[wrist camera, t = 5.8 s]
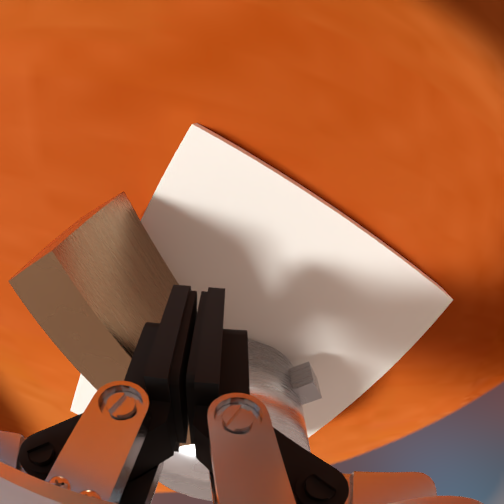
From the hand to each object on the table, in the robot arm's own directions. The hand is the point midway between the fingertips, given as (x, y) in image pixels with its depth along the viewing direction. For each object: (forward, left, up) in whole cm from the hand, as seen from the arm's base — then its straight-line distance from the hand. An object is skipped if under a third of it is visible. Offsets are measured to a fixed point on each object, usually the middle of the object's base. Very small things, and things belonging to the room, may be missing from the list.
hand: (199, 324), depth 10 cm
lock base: (+7, +5, -7) cm, 11 cm away
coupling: (+5, +2, -5) cm, 7 cm away
